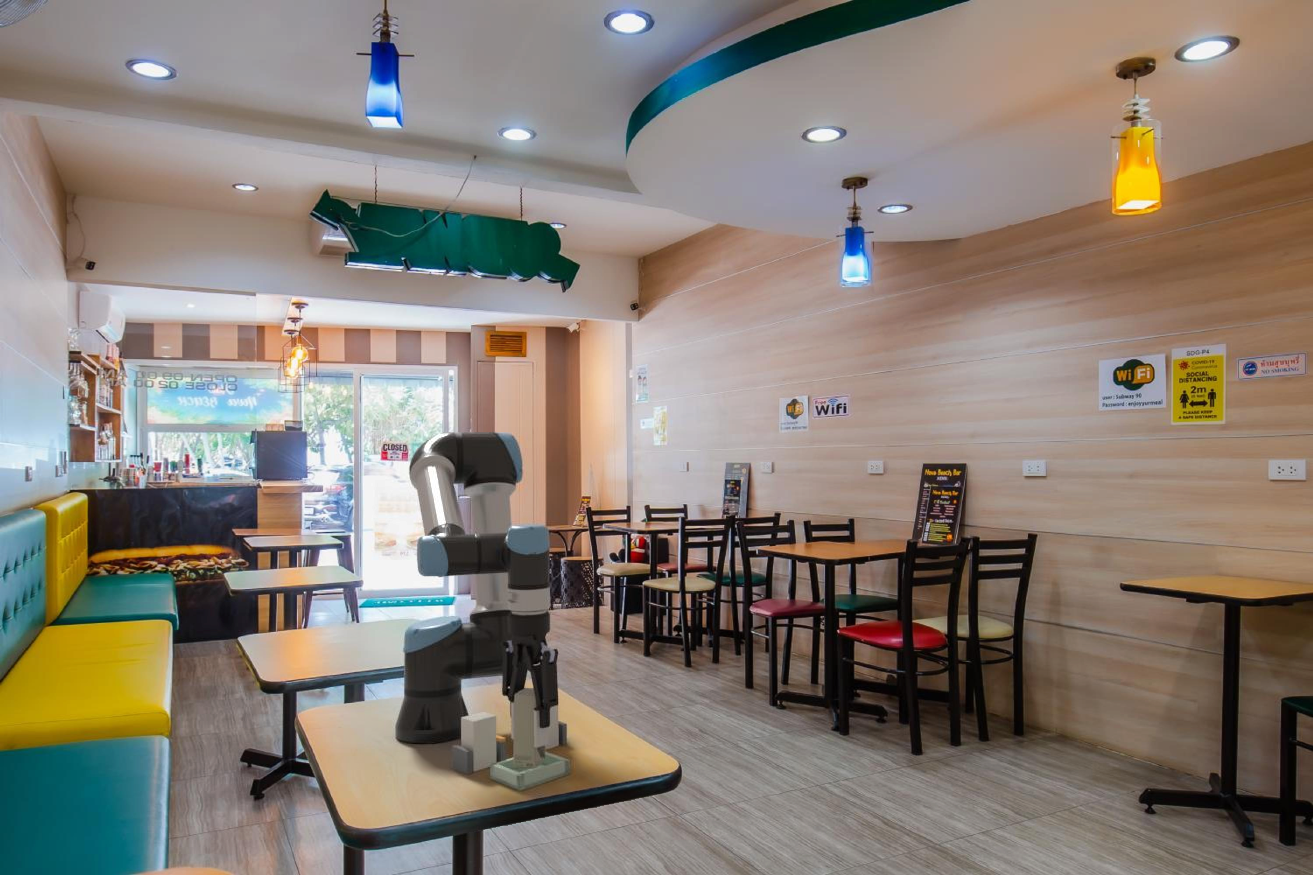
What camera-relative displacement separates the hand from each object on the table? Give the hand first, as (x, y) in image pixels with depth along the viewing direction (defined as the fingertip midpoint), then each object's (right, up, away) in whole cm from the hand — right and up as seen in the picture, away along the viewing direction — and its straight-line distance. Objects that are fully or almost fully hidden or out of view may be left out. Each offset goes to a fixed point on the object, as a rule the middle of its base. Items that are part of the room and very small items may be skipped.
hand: (529, 741), depth 156 cm
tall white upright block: (-10, -7, +6) cm, 14 cm away
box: (0, -4, 0) cm, 4 cm away
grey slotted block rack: (-5, -7, +11) cm, 14 cm away
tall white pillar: (0, -7, +16) cm, 18 cm away
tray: (0, -6, 0) cm, 6 cm away
